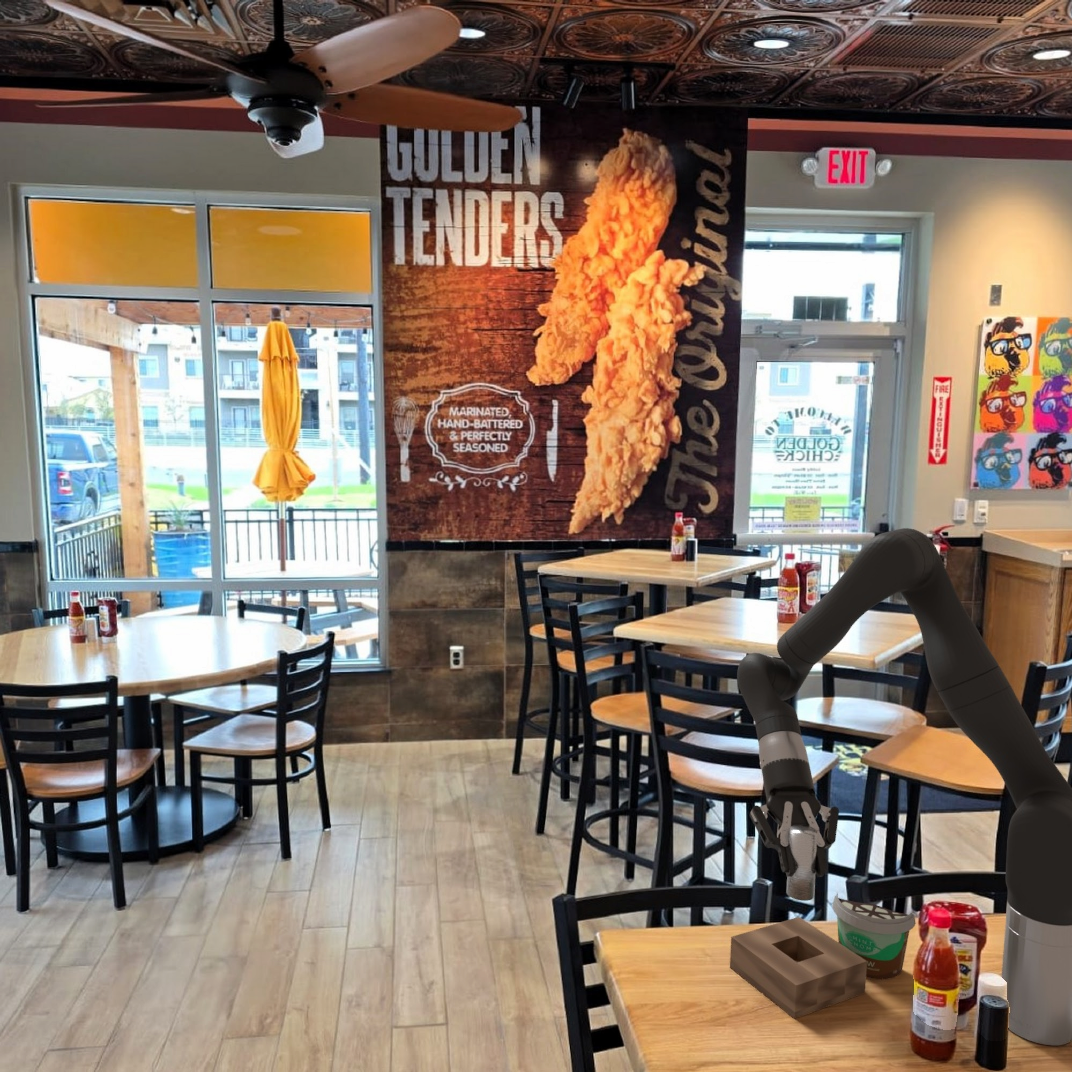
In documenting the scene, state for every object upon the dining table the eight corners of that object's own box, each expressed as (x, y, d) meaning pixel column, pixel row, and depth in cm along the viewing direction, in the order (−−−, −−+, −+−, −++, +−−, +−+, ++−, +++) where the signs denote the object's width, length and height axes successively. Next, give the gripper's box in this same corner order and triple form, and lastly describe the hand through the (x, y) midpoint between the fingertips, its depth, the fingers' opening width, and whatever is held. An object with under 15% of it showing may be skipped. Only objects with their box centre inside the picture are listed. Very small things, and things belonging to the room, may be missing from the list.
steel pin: (800, 885, 137) (804, 822, 136) (819, 897, 134) (823, 833, 133) (780, 890, 135) (784, 827, 134) (799, 903, 132) (803, 838, 131)
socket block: (797, 946, 145) (798, 916, 145) (865, 993, 133) (866, 961, 132) (729, 967, 139) (731, 936, 138) (794, 1018, 126) (796, 985, 126)
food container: (823, 969, 139) (826, 908, 138) (830, 950, 144) (833, 891, 143) (908, 993, 133) (912, 929, 132) (912, 972, 139) (916, 910, 138)
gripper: (746, 755, 140) (764, 866, 129) (835, 756, 140) (861, 866, 129) (736, 776, 146) (752, 883, 135) (822, 777, 146) (845, 884, 135)
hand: (806, 874), depth 132 cm, fingers closed on steel pin, 4 cm apart
